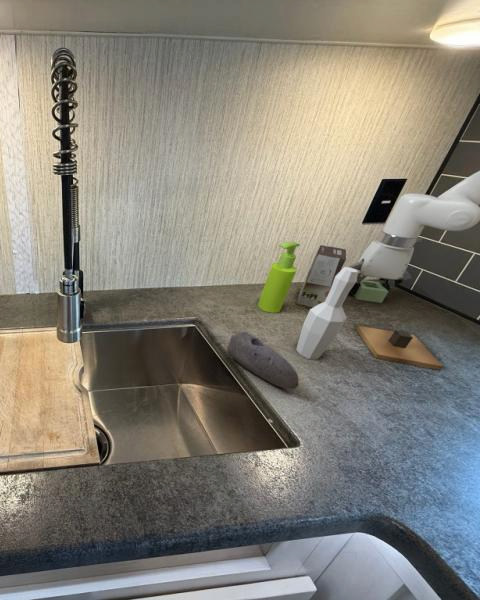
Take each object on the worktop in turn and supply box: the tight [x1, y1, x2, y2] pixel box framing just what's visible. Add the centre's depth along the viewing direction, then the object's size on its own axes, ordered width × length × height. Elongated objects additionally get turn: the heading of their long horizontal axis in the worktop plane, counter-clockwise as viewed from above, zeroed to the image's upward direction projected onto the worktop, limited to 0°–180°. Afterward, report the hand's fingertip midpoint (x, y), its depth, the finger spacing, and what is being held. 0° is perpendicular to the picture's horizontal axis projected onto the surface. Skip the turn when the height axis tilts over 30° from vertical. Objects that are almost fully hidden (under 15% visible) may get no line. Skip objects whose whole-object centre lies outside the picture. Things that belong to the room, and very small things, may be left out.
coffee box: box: [296, 244, 347, 309], centre depth 90 cm, size 9×6×16 cm
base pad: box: [355, 325, 444, 371], centre depth 75 cm, size 12×12×4 cm
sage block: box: [353, 279, 389, 304], centre depth 96 cm, size 6×6×4 cm
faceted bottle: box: [295, 266, 359, 360], centre depth 68 cm, size 6×6×22 cm
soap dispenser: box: [257, 241, 301, 314], centre depth 86 cm, size 6×7×20 cm
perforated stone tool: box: [226, 331, 300, 390], centre depth 66 cm, size 15×5×7 cm, turn 30°
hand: (365, 294), depth 97 cm, fingers closed on sage block, 6 cm apart
